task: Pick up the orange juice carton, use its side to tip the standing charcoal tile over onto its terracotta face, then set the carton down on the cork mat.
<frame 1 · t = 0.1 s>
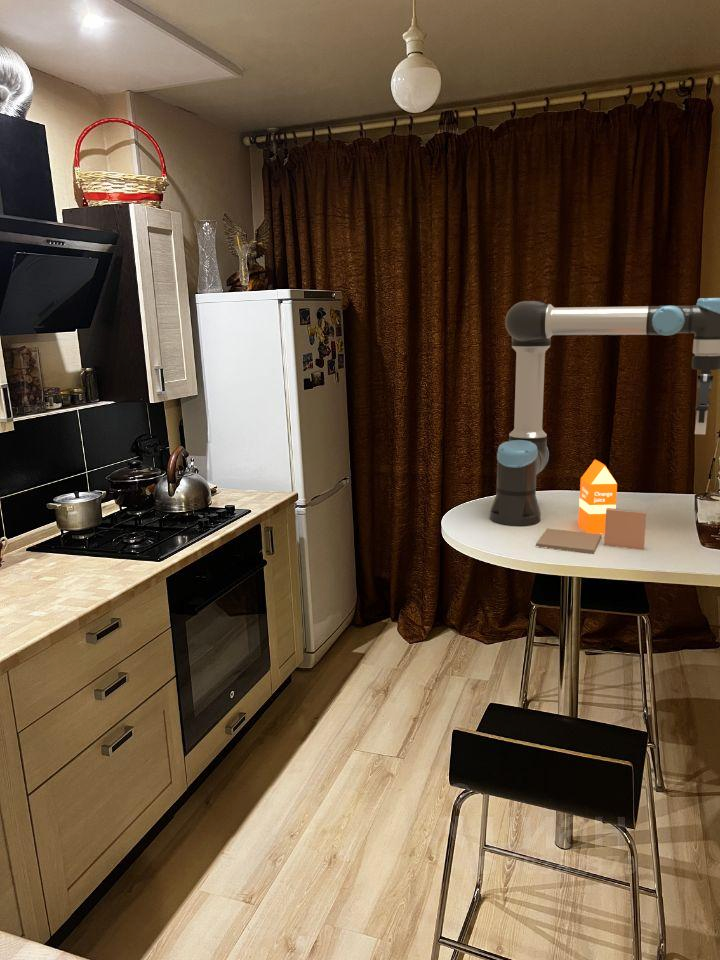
hand: (700, 430, 207), 28 cm above the table, tool pointing down, fingers open, 13 cm apart
orange juice: (595, 530, 211), on the table
cork mat: (569, 542, 200), on the table
tile: (625, 528, 194), point 5 cm above the table
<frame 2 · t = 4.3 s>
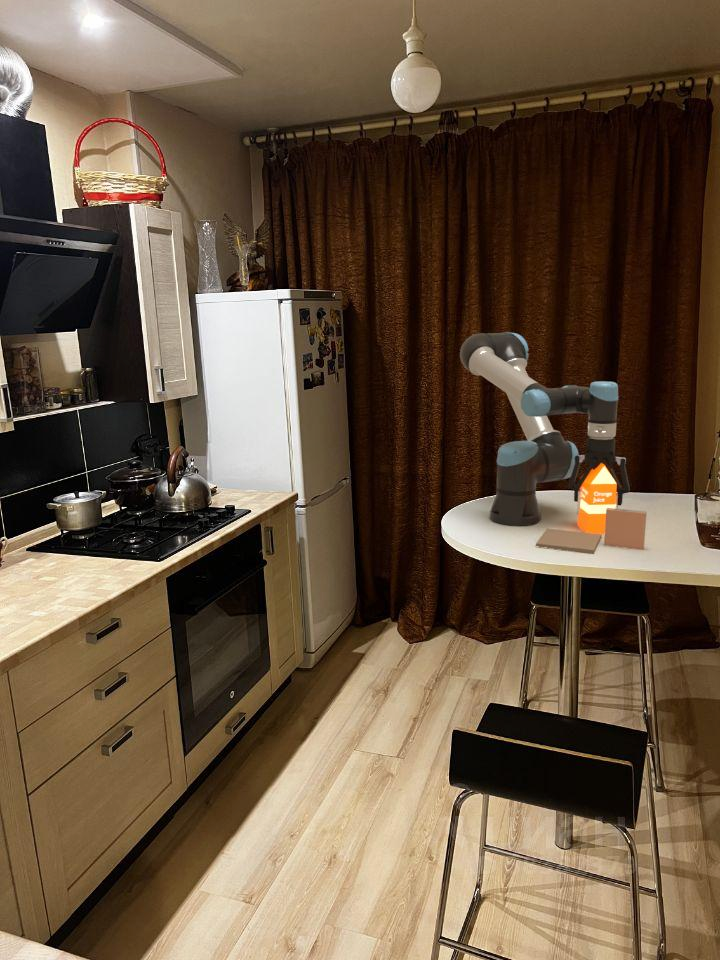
hand: (597, 514, 210), 5 cm above the table, tool pointing down, fingers closed on orange juice, 9 cm apart
orange juice: (595, 530, 211), on the table, touching gripper
everything else where it was.
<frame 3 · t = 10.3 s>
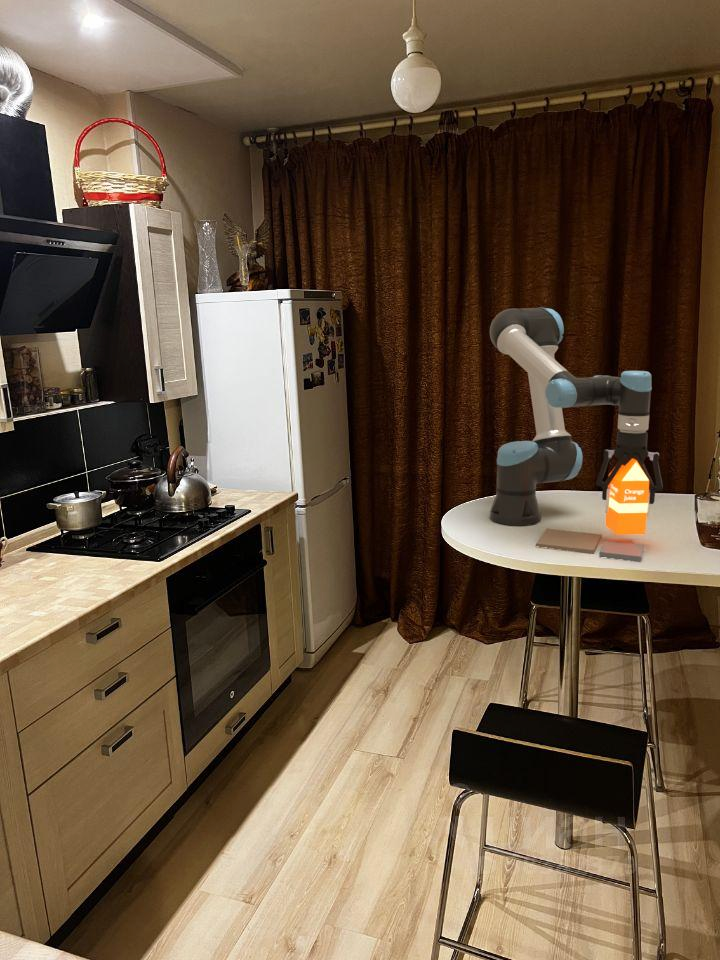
hand: (627, 513, 196), 9 cm above the table, tool pointing down, fingers closed on orange juice, 9 cm apart
orange juice: (624, 530, 197), point 4 cm above the table, touching gripper
tile: (621, 551, 190), on the table, tilted 90°
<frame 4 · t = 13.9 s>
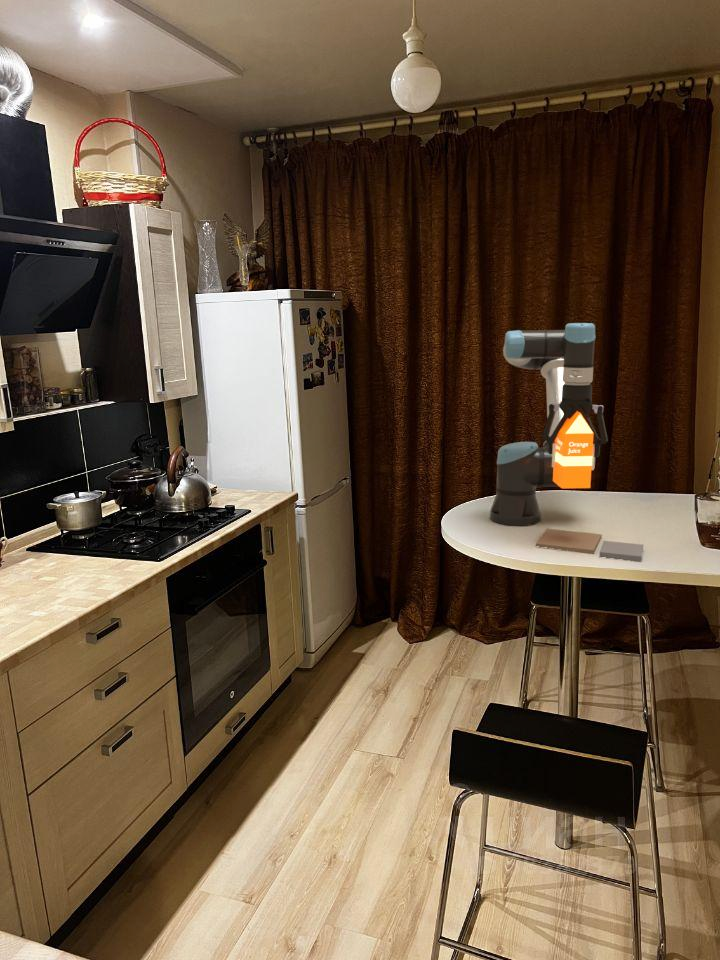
hand: (573, 467, 195), 21 cm above the table, tool pointing down, fingers closed on orange juice, 9 cm apart
orange juice: (571, 485, 196), point 16 cm above the table, touching gripper
everything else where it was.
when the fingers open (6 cm above the table, at t = 16.9 s): orange juice stays where it is, resting on cork mat.
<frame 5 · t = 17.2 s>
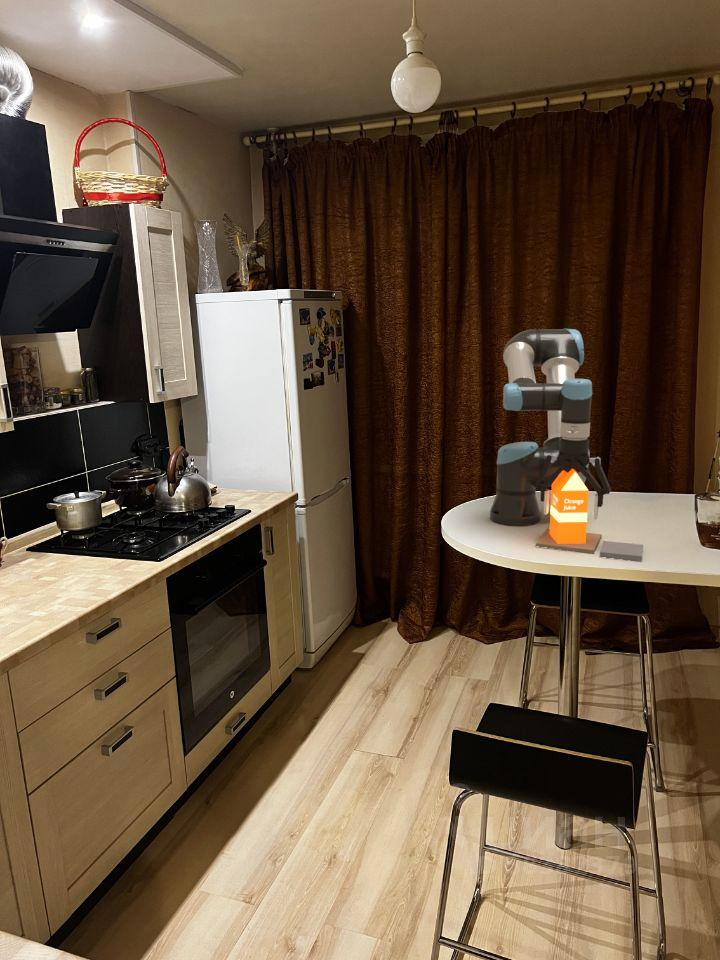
hand: (570, 515, 198), 8 cm above the table, tool pointing down, fingers open, 12 cm apart
orange juice: (567, 539, 200), point 1 cm above the table, touching cork mat
everything else where it was.
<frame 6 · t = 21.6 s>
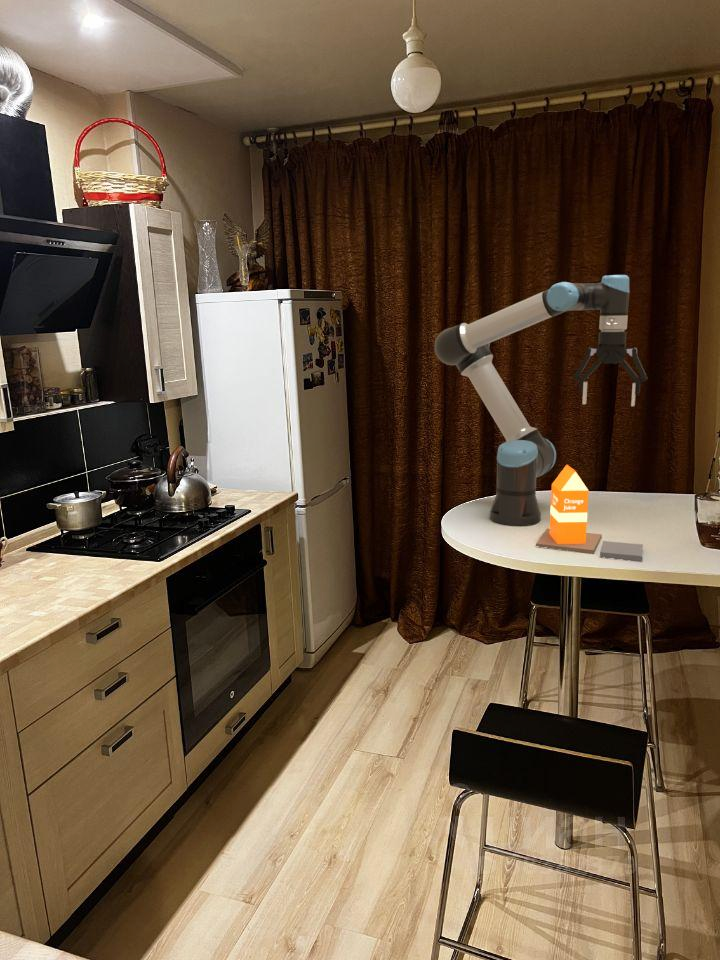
hand: (608, 404, 214), 35 cm above the table, tool pointing down, fingers open, 13 cm apart
nothing on the table moved.
at the end: tile 0.5 cm from the target spot, on the table; orange juice 0.5 cm from the cork mat (horizontally); orange juice tilted 0° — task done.
